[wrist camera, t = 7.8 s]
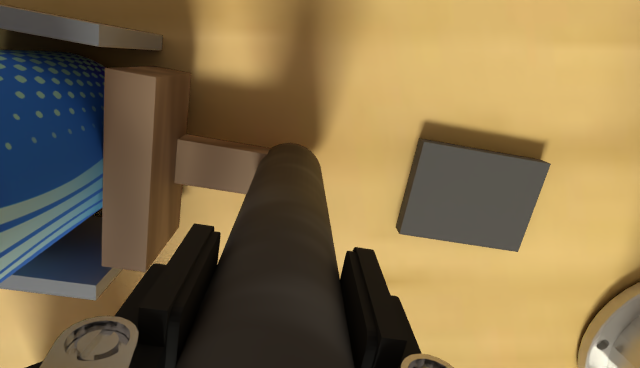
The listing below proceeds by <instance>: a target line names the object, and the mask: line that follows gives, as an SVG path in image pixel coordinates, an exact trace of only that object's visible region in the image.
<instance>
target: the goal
mask: <svg viewBox="0 0 640 368" xmlns="http://www.w3.org/2000/svg"><path fill="white" fill-rule="evenodd" d="M0 28H1V29H6V30H12V31H17V32H22V33H28V34H33V35H38V36H44V37H49V38H55V39H60V40H65V41H71V42H76V43H82V44H87V45H92V46H98V47H112V48H128V49H145V50H161V51H162V39H163V35H158V34H153V33H148V32H142V31H137V30H132V29H127V28H121V27H116V26H111V25H106V24H100V23H95V22H90V21H85V20H79V19H74V18H69V17H64V16H59V15H53V14H48V13H43V12H38V11H32V10H27V9H22V8H17V7H11V6H6V5H1V4H0ZM121 270H122V269H119V268H111V267H104V266H102V217H98V216H90V217H89V218H88V219H86V220H85V221H84V222H82V223H81V224H80V225H78V226H77V227H75V228H74V229H73V230H71V231H70V232H69V233H67V234H66V235H65V236H63V237H62V238H61V239H59V240H58V241H57V242H55V243H54V244H53V245H51V246H50V247H48V248H47V249H46V250H44V251H43V252H42V253H40V254H39V255H38V256H36V257H35V258H34V259H32V260H31V261H30V262H28V263H27V264H26V265H24V266H23V267H22V268H20V269H19V270H17V271H16V272H15V273H13V274H12V275H11V276H9V277H8V278H7V279H5V280H4V281H3V282H1V283H0V288H1V289H9V290H17V291H25V292H33V293H41V294H49V295H57V296H65V297H73V298H81V299H89V300H97V298H98V297H99V296H100V295H101V294H102V293H103V291H104V290H105V289H106V288H107V287H108V286H109V284H110V283H111V282H112V281H113V280H114V279H115V277H116V276H117V275H118V274H119V273H120V272H121Z"/></svg>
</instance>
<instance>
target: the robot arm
mask: <svg viewBox="0 0 640 368" xmlns="http://www.w3.org/2000/svg"><path fill="white" fill-rule="evenodd" d="M219 244H220V232H214V226H208V225H201V224H194V225H193V226H192V227H191V229H190V230H189V232H188V233H187V235H186V236H185V238H184V240H183V241H182V243H181V244H180V246H179V247H178V249H177V250H176V252H175V253H174V255H173V256H172V258H171V259H170V261H169V262H168V264H167V265H163V264H153V265H152V266H151V267H150V268H149V270H148V271H147V272H146V274H145V275H144V276H143V278H142V279H141V281H140V282H139V283H138V285H137V286H136V287H135V289H134V290H133V292H132V293H131V294H130V296H129V297H128V298H127V300H126V301H125V302H124V304H123V305H122V307H121V308H120V309H119V311H118V312H117V313H116V315H115V316H99V317H94V318H90V319H85V320H83V321H81V322H78V323H76V324H74V325H72V326H71V327H69V328H68V329H66V330H65V331H63V333H62V334H61V335H60V336H59V337H58V338H57V340H56V341H55V343H54V344H53V346H52V348H51V349H50V351H49V353H48V354H47V356H46V357H45V359H44V361H42V362H39V363H37V364H34V365H31V366H28V367H26V368H175V367H176V364H177V362H178V359H179V357H180V354H181V352H182V350H183V347H184V345H185V342H186V340H187V337H188V335H189V333H190V330H191V328H192V325H193V323H194V320H195V318H196V316H197V313H198V311H199V308H200V306H201V303H202V301H203V299H204V296H205V294H206V291H207V289H208V286H209V284H210V282H211V279H212V277H213V274H214V272H215V270H216V267H217V261H218V253H219ZM340 284H341V290H342V296H343V302H344V308H345V314H346V319H347V325H348V331H349V337H350V343H351V349H352V355H353V360H354V366H355V368H454V367H452V366H451V365H450V364H449V363H447V362H445V361H443V360H441V359H440V358H437V357H434V356H431V355H427V354H421V351H420V349H419V346H418V344H417V341H416V339H415V336H414V334H413V331H412V329H411V326H410V324H409V321H408V319H407V316H406V314H405V312H404V309H403V307H402V304H401V302H400V300H399V298H398V297H397V296H391V295H390V293H389V290H388V287H387V285H386V282H385V279H384V277H383V274H382V271H381V269H380V266H379V263H378V261H377V258H376V255H375V252H374V250H371V249H364V248H358V247H355V248H354V249H353V252H352V251H347V253H346V256H345V260H344V265H343V269H342V274H341V278H340ZM578 368H640V282H639V283H637V284H635V285H633V286H631V287H629V288H627V289H625V290H624V291H623V292H621V293H620V294H619V295H617V296H616V297H614V298H613V299H612V300H610V301H609V302H608V303H607V304H606V305H605V306H604V307H603V308H602V309H601V310H600V311H599V312H598V314H597V315H596V316H595V318H594V319H593V320H592V322H591V323H590V324H589V326H588V328H587V330H586V332H585V334H584V336H583V338H582V341H581V345H580V348H579V351H578Z"/></svg>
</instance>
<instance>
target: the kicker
mask: <svg viewBox="0 0 640 368" xmlns="http://www.w3.org/2000/svg"><path fill="white" fill-rule="evenodd" d="M190 82H191V73H188V72H183V71H177V70H172V69H166V68H161V67H155V66H141V67H119V68H105V78H104V142H103V206H102V266H104V267H111V268H119V269H126V270H134V271H141V272H146V271H147V269H148V268H149V267H150V265H151V264H152V263H153V261H154V260H155V259H156V257H157V256H158V254H159V253H160V252H161V250H162V249H163V248H164V246H165V245H166V244H167V242H168V241H169V240H170V238H171V237H172V235H173V234H174V233H175V231H176V230H177V229H178V227H179V220H180V207H181V195H182V184H183V185H190V186H196V187H203V188H209V189H216V190H222V191H228V192H235V193H241V194H246V197H245V199H244V202H243V204H242V206H241V209H240V211H239V214H238V216H237V219H236V221H235V223H234V226H233V228H232V231H231V233H230V236H229V238H228V240H227V243H226V245H225V248H224V250H223V253H222V255H221V257H220V260H219V262H218V265H217V267H216V270H215V272H214V274H213V277H212V279H211V282H210V284H209V286H208V289H207V291H206V294H205V296H204V299H203V301H202V303H201V306H200V308H199V311H198V313H197V316H196V318H195V320H194V323H193V325H192V328H191V330H190V333H189V335H188V337H187V340H186V342H185V345H184V347H183V350H182V352H181V354H180V357H179V359H178V362H177V364H176V367H175V368H355V366H354V360H353V355H352V349H351V343H350V337H349V331H348V325H347V319H346V314H345V308H344V302H343V296H342V290H341V284H340V278H339V272H338V267H337V261H336V255H335V249H334V243H333V237H332V231H331V226H330V220H329V214H328V208H327V202H326V196H325V190H324V184H323V179H322V173H321V167H320V164H319V162H318V160H317V158H316V156H315V155H314V154H313V153H312V152H311V151H310V150H308V149H307V148H305V147H303V146H301V145H298V144H293V143H285V144H280V145H277V146H275V147H273V148H266V147H260V146H254V145H248V144H242V143H236V142H230V141H224V140H218V139H212V138H206V137H200V136H194V135H188V134H186V132H187V120H188V107H189V95H190Z"/></svg>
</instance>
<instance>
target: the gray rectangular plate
mask: <svg viewBox="0 0 640 368" xmlns="http://www.w3.org/2000/svg"><path fill="white" fill-rule="evenodd" d="M549 167H550V164H549V163H547V162H545V161H542V160H539V159H533V158H527V157H522V156H516V155H510V154H505V153H499V152H493V151H488V150H482V149H476V148H471V147H465V146H459V145H454V144H448V143H443V142H437V141H431V140H426V139H420V138H419V141H418V145H417V149H416V153H415V157H414V160H413V164H412V168H411V172H410V176H409V179H408V183H407V187H406V191H405V195H404V199H403V202H402V206H401V210H400V214H399V218H398V221H397V225H396V229H397V230H398V232H399V234H403V235H410V236H416V237H423V238H429V239H436V240H443V241H449V242H456V243H462V244H469V245H476V246H482V247H489V248H495V249H502V250H509V251H515V252H518V250H519V248H520V245H521V242H522V240H523V237H524V234H525V231H526V229H527V226H528V223H529V221H530V218H531V215H532V213H533V210H534V207H535V205H536V202H537V199H538V197H539V194H540V191H541V188H542V186H543V183H544V180H545V178H546V175H547V172H548V170H549Z"/></svg>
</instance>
